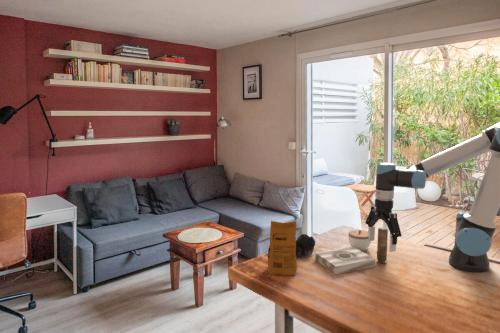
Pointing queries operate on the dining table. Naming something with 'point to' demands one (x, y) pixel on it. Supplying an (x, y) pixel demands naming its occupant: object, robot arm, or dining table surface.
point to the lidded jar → (359, 239)
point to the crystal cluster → (304, 246)
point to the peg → (382, 245)
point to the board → (344, 260)
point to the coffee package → (282, 249)
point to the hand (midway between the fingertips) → (381, 245)
